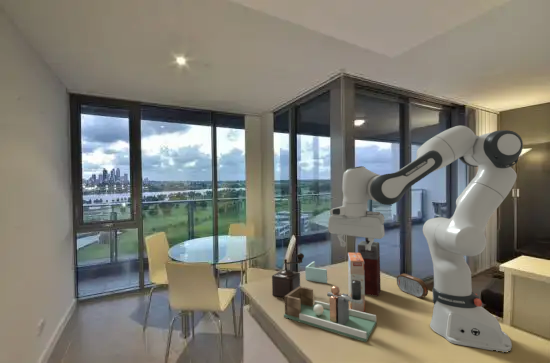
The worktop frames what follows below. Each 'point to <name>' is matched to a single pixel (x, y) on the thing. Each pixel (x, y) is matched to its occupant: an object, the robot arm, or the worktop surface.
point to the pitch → (339, 320)
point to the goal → (298, 300)
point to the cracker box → (356, 278)
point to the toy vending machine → (371, 267)
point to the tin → (412, 285)
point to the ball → (318, 309)
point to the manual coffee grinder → (286, 279)
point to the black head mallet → (335, 295)
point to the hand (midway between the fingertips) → (355, 248)
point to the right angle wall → (315, 273)
